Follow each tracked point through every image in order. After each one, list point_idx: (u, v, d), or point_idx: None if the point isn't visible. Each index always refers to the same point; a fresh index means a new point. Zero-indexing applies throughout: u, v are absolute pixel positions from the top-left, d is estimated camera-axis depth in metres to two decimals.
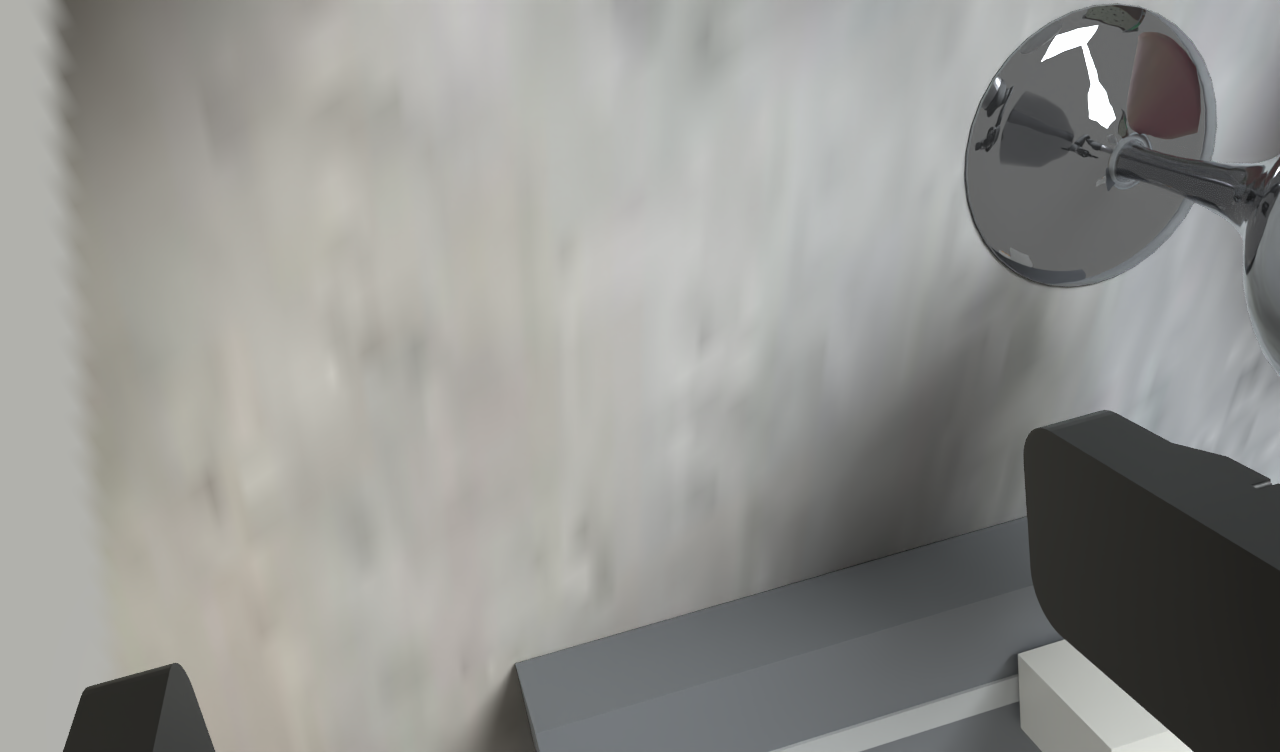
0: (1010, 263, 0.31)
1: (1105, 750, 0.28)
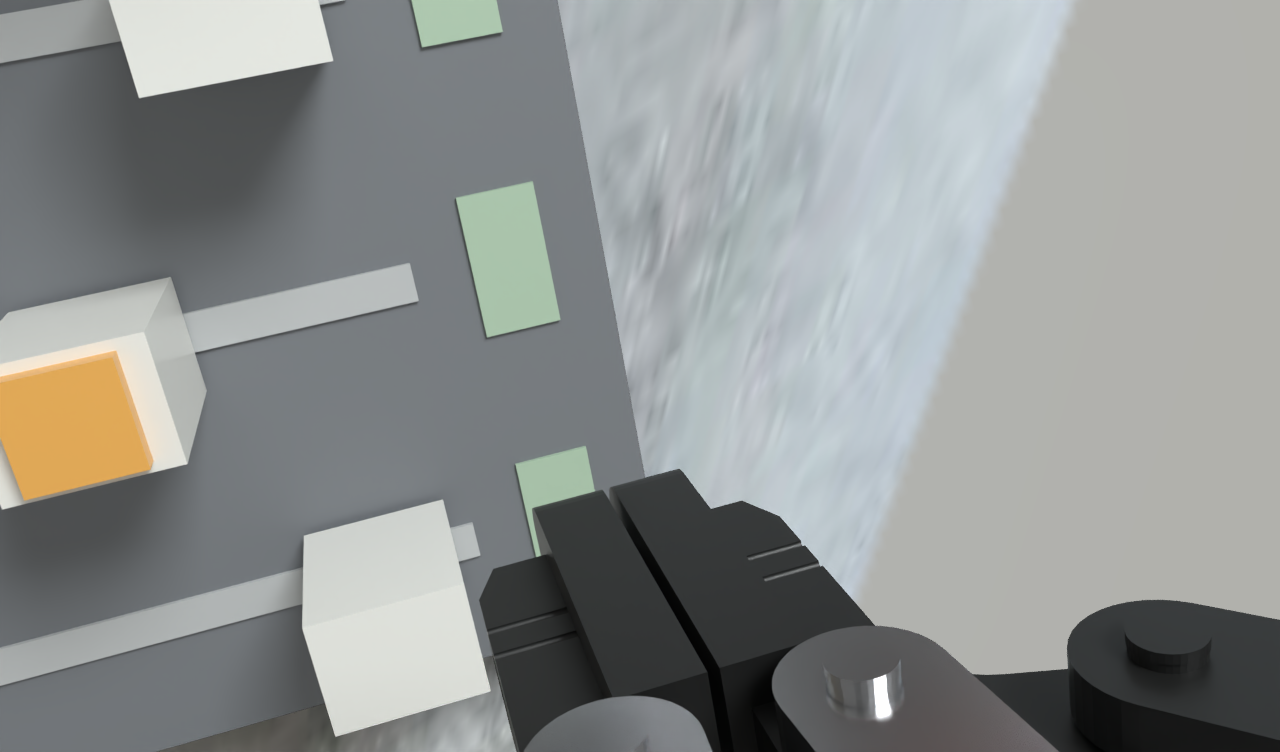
0: None
1: None
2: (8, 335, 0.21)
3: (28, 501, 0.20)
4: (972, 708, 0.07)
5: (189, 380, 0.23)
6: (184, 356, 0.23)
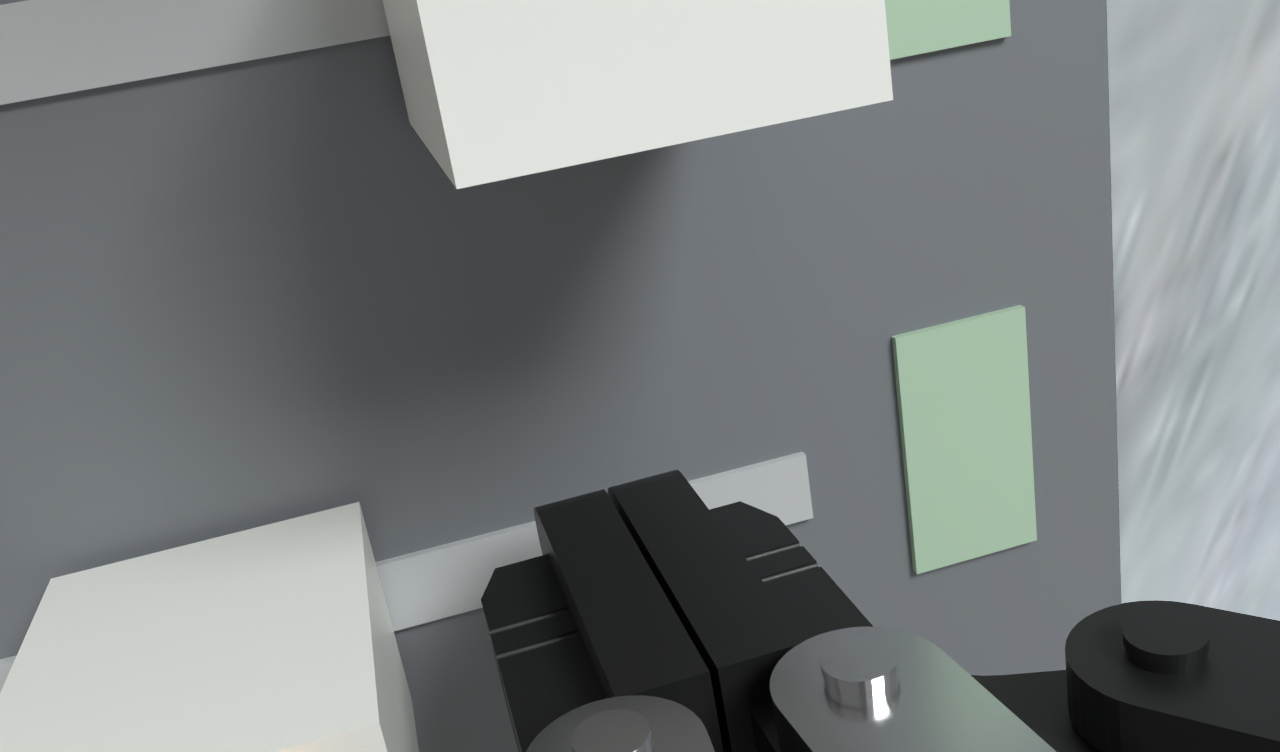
0: None
1: None
2: (59, 674, 0.10)
3: None
4: (970, 708, 0.07)
5: (407, 720, 0.11)
6: (396, 670, 0.12)
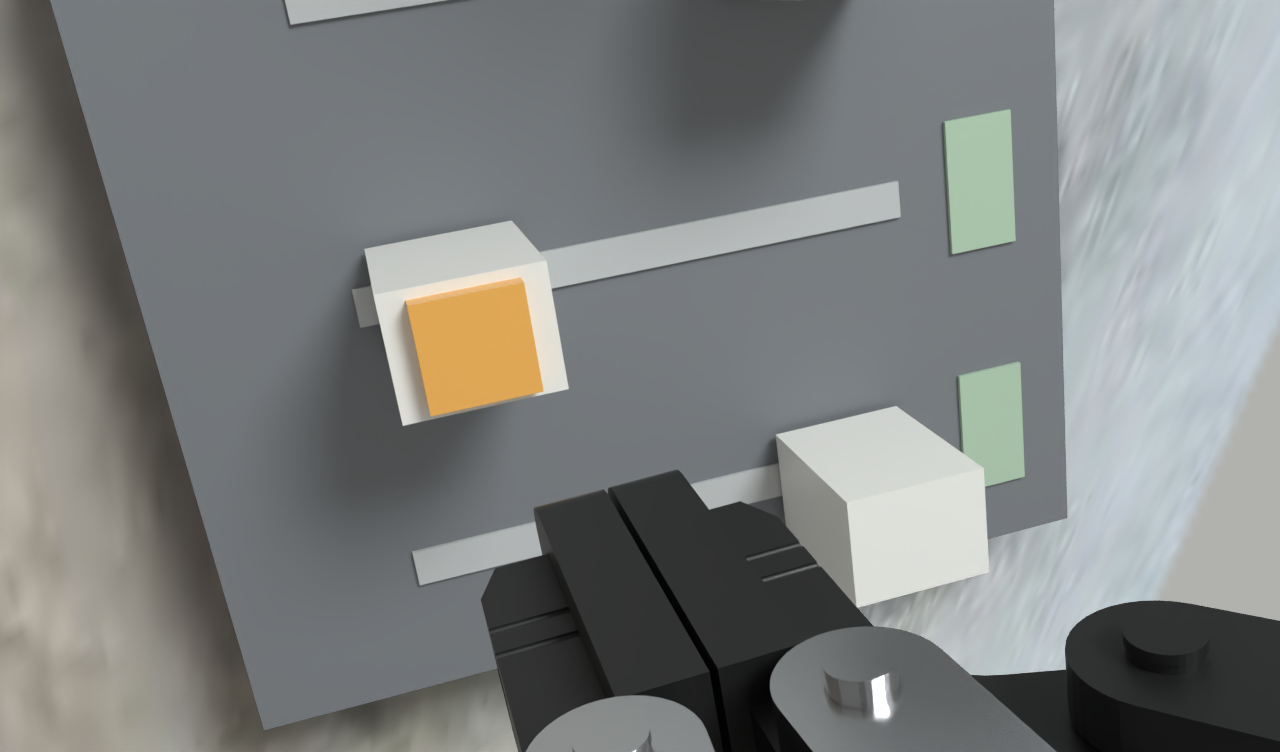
0: None
1: None
2: (393, 265, 0.22)
3: (426, 419, 0.21)
4: (969, 709, 0.07)
5: None
6: None
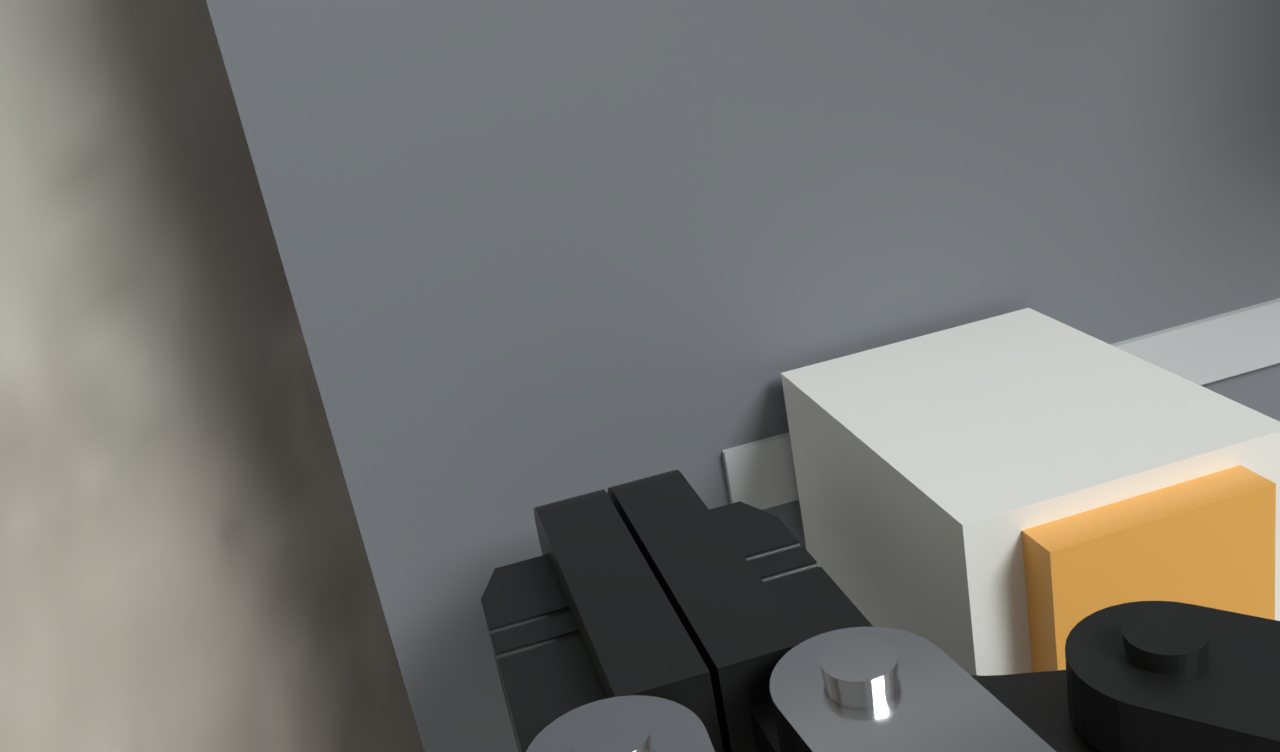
0: None
1: None
2: (902, 425, 0.11)
3: None
4: (970, 709, 0.07)
5: None
6: None
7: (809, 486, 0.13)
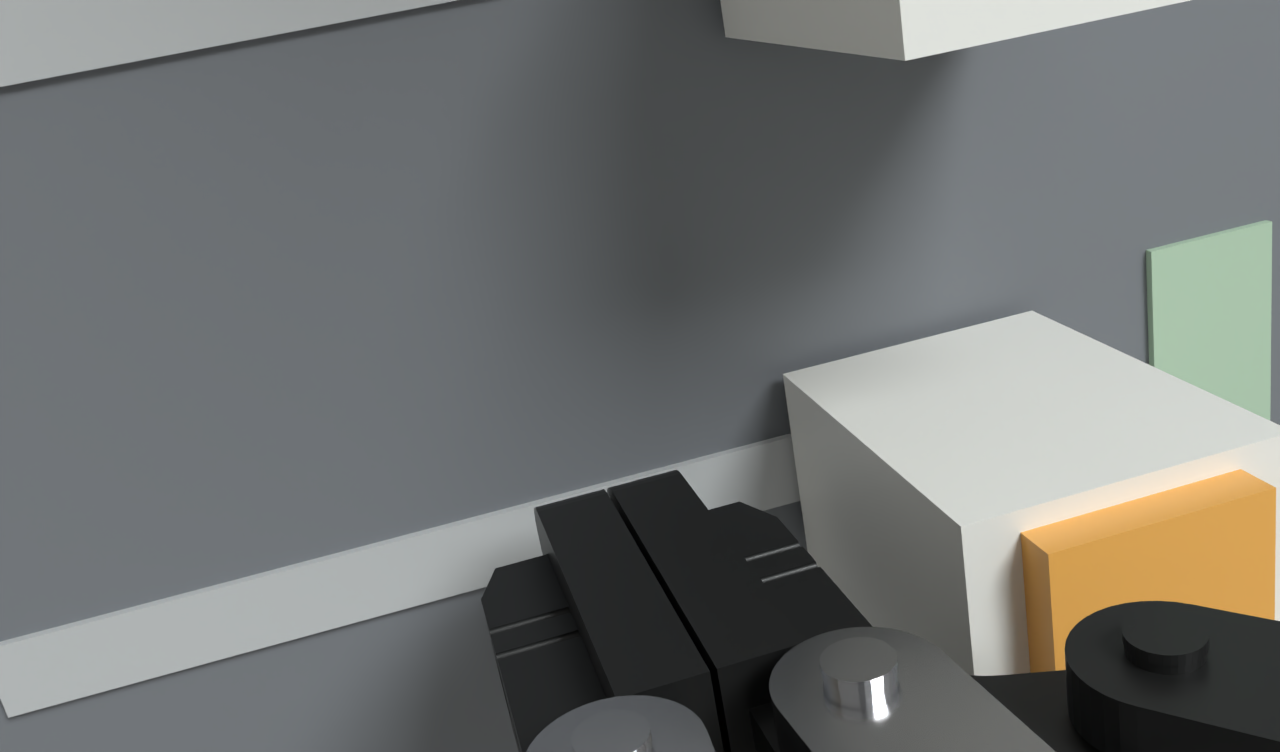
0: None
1: None
2: (902, 426, 0.11)
3: None
4: (969, 708, 0.07)
5: None
6: None
7: (810, 487, 0.13)
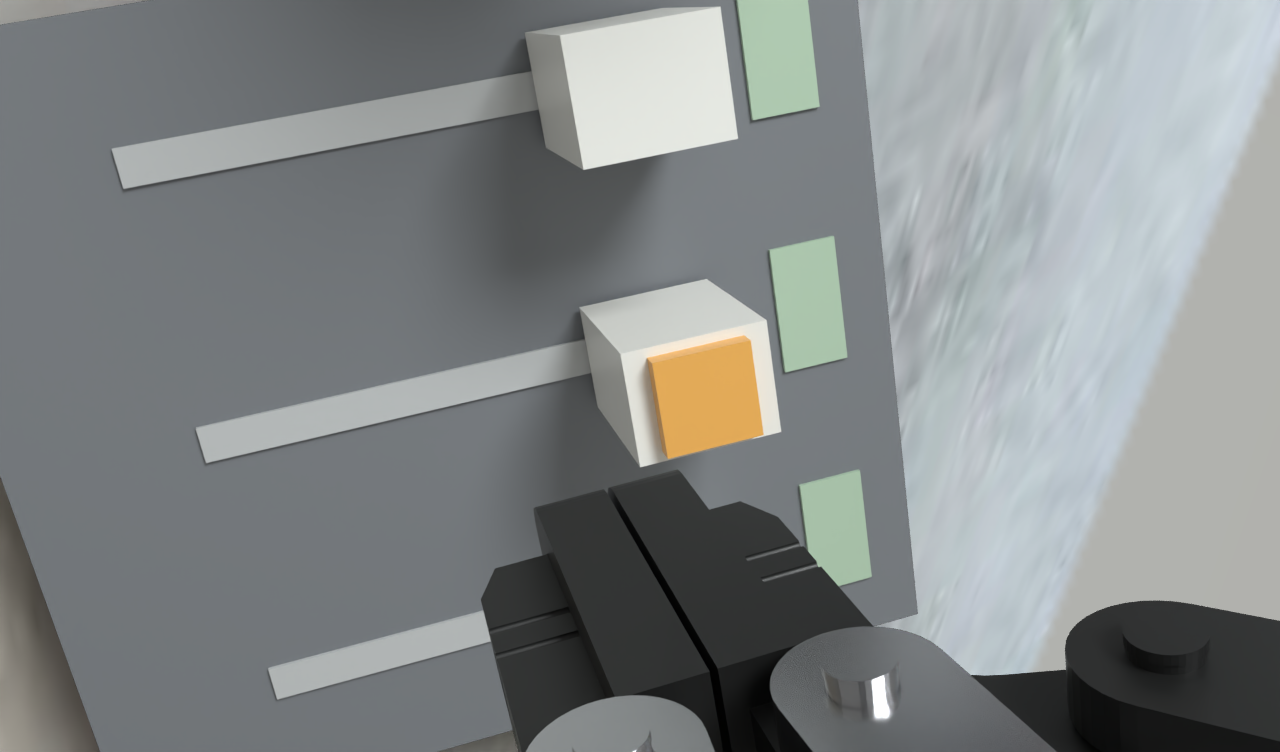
0: None
1: (559, 47, 0.22)
2: (619, 324, 0.25)
3: (659, 460, 0.24)
4: (971, 709, 0.07)
5: None
6: None
7: (592, 362, 0.27)
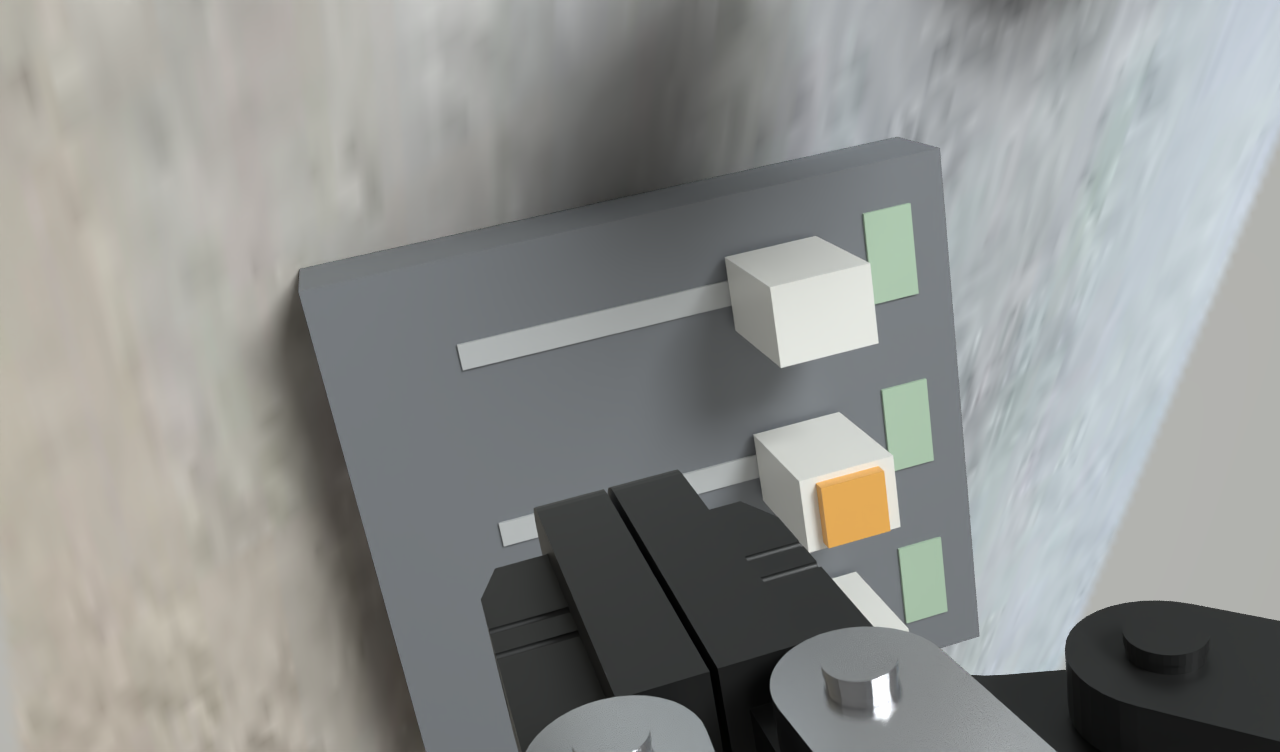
0: None
1: (768, 292, 0.34)
2: (789, 453, 0.37)
3: (821, 548, 0.36)
4: (970, 709, 0.07)
5: None
6: None
7: (762, 472, 0.39)
